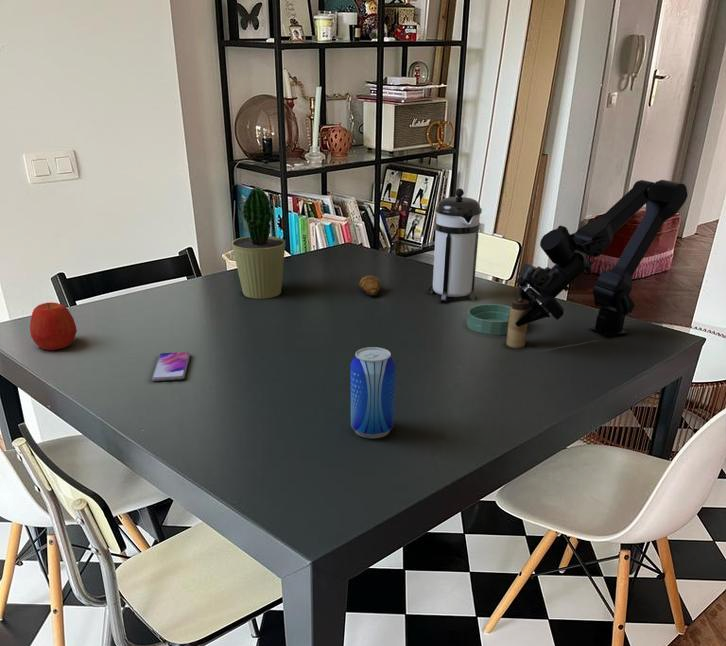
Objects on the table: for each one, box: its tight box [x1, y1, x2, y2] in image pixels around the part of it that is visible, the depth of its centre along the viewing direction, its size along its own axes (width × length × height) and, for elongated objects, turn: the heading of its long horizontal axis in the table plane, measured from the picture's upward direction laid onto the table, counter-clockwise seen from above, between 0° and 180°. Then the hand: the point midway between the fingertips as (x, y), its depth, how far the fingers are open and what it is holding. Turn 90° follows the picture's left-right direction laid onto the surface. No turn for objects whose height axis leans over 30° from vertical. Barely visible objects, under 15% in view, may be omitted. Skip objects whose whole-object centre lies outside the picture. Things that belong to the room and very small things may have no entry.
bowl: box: [466, 303, 511, 336], centre depth 193 cm, size 14×14×4 cm
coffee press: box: [428, 188, 483, 304], centre depth 209 cm, size 17×16×30 cm
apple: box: [29, 301, 78, 351], centre depth 179 cm, size 11×11×11 cm
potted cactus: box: [231, 186, 286, 300], centre depth 210 cm, size 15×15×30 cm
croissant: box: [358, 274, 382, 298], centre depth 218 cm, size 14×7×5 cm, turn 10°
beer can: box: [350, 346, 396, 439], centre depth 140 cm, size 8×8×16 cm
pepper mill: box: [505, 297, 529, 349], centre depth 179 cm, size 5×5×12 cm
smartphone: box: [151, 351, 191, 382], centre depth 169 cm, size 7×1×15 cm
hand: (512, 321), depth 179 cm, fingers closed on pepper mill, 4 cm apart
